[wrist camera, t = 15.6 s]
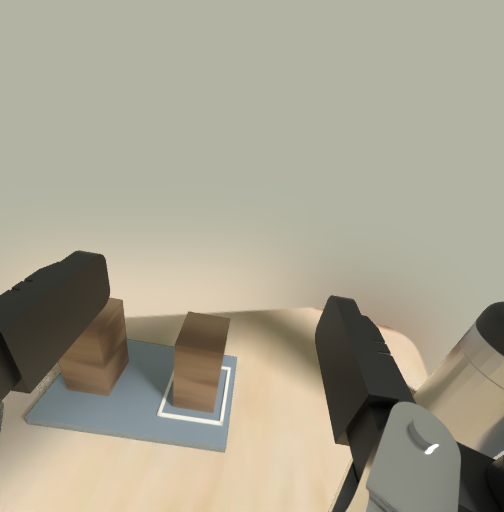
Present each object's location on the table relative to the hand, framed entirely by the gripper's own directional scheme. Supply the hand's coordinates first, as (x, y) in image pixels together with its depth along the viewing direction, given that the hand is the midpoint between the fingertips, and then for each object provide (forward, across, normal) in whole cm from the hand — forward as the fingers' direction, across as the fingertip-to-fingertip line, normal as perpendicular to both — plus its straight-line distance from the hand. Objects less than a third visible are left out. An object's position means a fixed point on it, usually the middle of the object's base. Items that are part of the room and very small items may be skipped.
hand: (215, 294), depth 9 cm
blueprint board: (+12, +9, +28) cm, 32 cm away
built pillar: (+12, +15, +26) cm, 33 cm away
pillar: (+12, +2, +27) cm, 29 cm away
